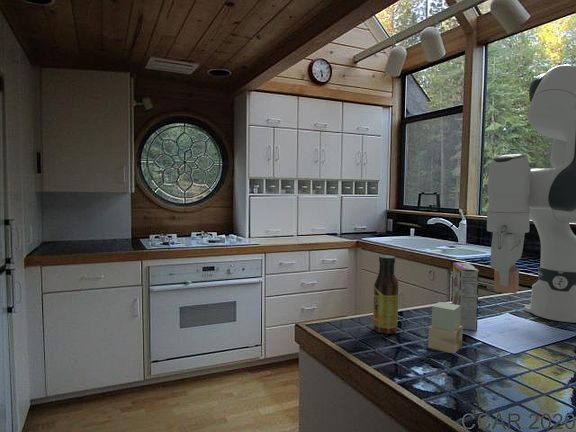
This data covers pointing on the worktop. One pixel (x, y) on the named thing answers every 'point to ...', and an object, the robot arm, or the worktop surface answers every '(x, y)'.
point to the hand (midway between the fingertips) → (506, 282)
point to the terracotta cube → (513, 281)
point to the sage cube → (446, 316)
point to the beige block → (445, 339)
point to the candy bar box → (466, 293)
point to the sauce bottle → (386, 297)
